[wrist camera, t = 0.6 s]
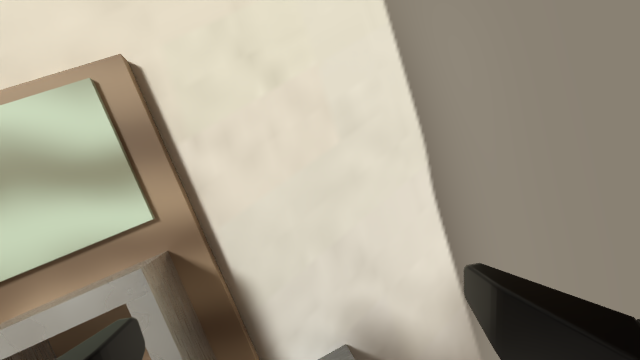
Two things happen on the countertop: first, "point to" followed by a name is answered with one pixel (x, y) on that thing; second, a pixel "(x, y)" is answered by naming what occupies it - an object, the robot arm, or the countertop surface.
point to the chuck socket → (106, 294)
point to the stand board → (97, 203)
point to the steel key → (339, 354)
